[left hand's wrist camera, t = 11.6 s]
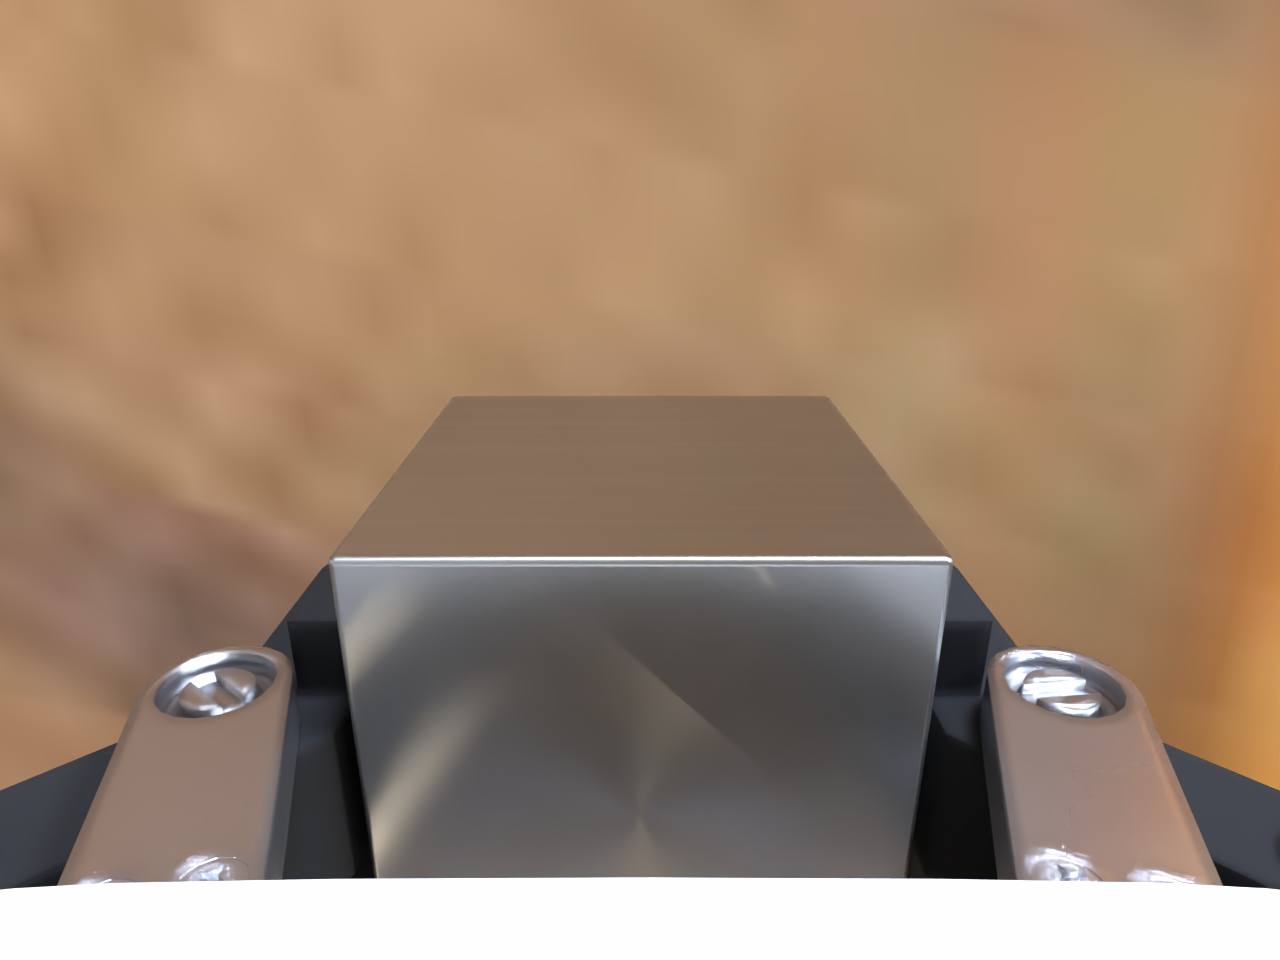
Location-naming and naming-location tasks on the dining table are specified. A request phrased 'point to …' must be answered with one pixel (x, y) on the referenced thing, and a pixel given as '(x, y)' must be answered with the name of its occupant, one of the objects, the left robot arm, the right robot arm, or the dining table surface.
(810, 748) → the silver metal cube
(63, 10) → the dining table surface
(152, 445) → the dining table surface
